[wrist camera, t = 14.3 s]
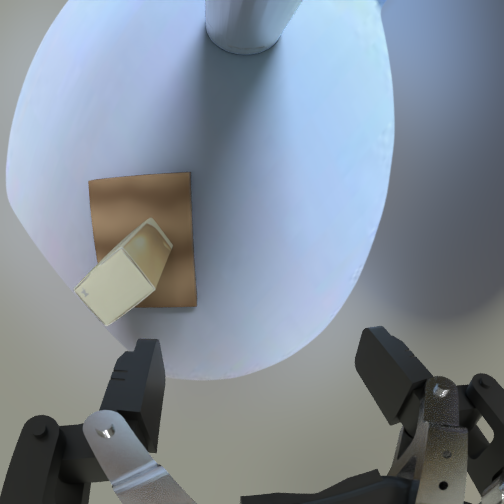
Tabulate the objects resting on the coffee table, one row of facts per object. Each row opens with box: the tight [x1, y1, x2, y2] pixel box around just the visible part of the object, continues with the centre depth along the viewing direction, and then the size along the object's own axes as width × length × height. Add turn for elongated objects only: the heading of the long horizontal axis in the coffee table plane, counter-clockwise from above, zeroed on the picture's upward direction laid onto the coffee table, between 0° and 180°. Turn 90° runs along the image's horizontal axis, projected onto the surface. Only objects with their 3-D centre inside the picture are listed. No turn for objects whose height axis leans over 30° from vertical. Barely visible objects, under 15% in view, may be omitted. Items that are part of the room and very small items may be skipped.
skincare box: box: [74, 218, 173, 326], centre depth 26 cm, size 6×4×12 cm
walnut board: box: [89, 172, 197, 307], centre depth 32 cm, size 16×12×2 cm
